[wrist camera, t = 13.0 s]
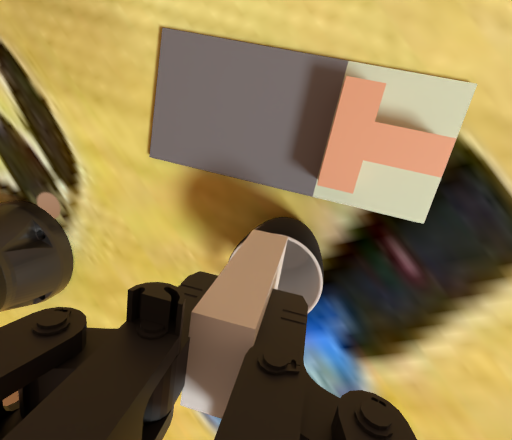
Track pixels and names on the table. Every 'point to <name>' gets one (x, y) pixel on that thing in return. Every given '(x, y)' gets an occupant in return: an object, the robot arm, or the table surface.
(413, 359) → the table surface
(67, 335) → the robot arm
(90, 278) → the table surface
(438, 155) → the t block
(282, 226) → the mug
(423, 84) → the mat
